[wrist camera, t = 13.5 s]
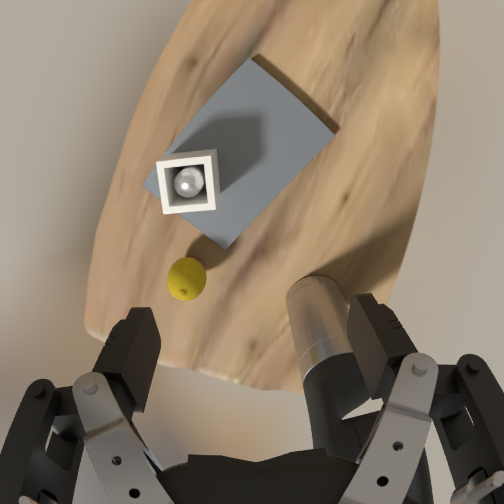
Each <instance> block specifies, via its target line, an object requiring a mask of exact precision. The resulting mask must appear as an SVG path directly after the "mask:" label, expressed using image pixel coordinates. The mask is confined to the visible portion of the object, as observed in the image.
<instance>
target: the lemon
mask: <svg viewBox="0 0 504 504" xmlns="http://www.w3.org/2000/svg"><path fill="white" fill-rule="evenodd" d="M167 284H168V288H169V291H170V292H171V294H172V295H173V296H174V297H175V298H177V299H179V300H183V301H189V300H193V299H195V298H196V297H198V296H199V295H200V294H201V292H202V291H203V289H204V287H205V284H206V271H205V269H204V267H203V265H202V264H201V263H200V262H199V261H198V260H196V259H194V258H189V257H185V258H181V259H179V260H177V261H176V262H175V263H174V264H173V265H172V266H171V268H170V270H169V272H168V277H167Z"/></svg>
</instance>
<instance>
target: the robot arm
mask: <svg viewBox="0 0 504 504" xmlns="http://www.w3.org/2000/svg"><path fill="white" fill-rule="evenodd" d="M286 305H287V310H288V315H289V320H290V325H291V330H292V334H293V339H294V344H295V349H296V354H297V359H298V364H299V369H300V374H301V379H302V384H303V389H304V393H305V398H306V402H307V406H308V412H309V418H310V424H311V431H312V438H313V448H314V449H311V450H304V451H295V452H290V453H288V454H284V455H281V456H278V457H274V458H271V459H268V460H264V461H260V462H251V461H246V460H240V459H235V458H230V457H225V456H220V455H219V456H218V455H190V454H189V455H188V462H186V463H182V464H178V465H175V466H172V467H170V468H168V469H166V470H163V468H162V467H161V465H160V464H159V463H158V461H157V460H156V459H155V457H154V456H153V454H152V453H151V451H150V449H149V448H148V446H147V444H146V443H145V441H144V439H143V438H142V436H141V434H140V433H139V431H138V429H137V427H136V426H135V424H134V422H133V420H132V416H133V412H141V413H144V409H145V405H146V401H147V397H148V393H149V389H150V386H151V381H152V378H153V374H154V371H155V367H156V364H157V360H158V357H159V353H160V349H161V338H160V334H159V331H158V328H157V325H156V322H155V319H154V315H153V312H152V310H151V308H150V307H133V308H131V309H130V311H129V313H128V316H127V318H126V320H120V321H119V322H118V323H117V324H116V325H115V326H114V327H113V328H112V330H111V332H110V334H109V336H108V337H109V338H107V340H106V342H105V346H104V347H103V349H102V351H101V353H100V355H99V357H98V359H97V361H96V364H95V366H94V368H93V370H92V372H89V373H85V374H83V375H81V376H80V377H79V378H78V379H77V380H76V381H75V383H74V385H73V386H68V387H61V388H56V387H55V386H54V385H53V383H52V382H51V381H50V380H47V379H39V380H36V381H34V382H33V383H32V384H31V385H30V386H29V387H28V388H27V390H26V392H25V395H24V397H23V399H22V401H21V403H20V406H19V408H18V410H17V412H16V415H15V417H14V420H13V422H12V425H11V427H10V429H9V432H8V435H7V437H6V440H5V443H4V445H3V448H2V451H1V454H0V504H72V501H73V495H74V490H75V485H76V480H77V475H78V470H79V466H80V462H81V457H82V452H83V449H84V445H85V447H86V450H87V452H88V455H89V458H90V460H91V462H92V464H93V467H94V469H95V472H96V473H97V476H98V478H99V480H100V482H101V485H102V487H103V489H104V491H105V493H106V495H107V496H108V498H109V500H110V502H111V504H434V502H433V494H432V486H431V479H430V473H429V466H428V461H427V456H426V451H425V447H424V445H425V442H426V439H427V435H428V432H429V429H430V425H431V419H432V420H433V422H434V425H435V428H436V431H437V433H438V436H439V439H440V441H441V444H442V447H443V450H444V453H445V456H446V459H447V462H448V465H449V468H450V472H451V475H452V478H453V481H454V485H455V488H456V489H455V491H454V492H453V494H452V496H451V499H450V504H504V393H503V391H502V389H501V387H500V386H499V384H498V382H497V380H496V379H495V377H494V375H493V374H492V372H491V370H490V369H489V367H488V365H487V364H486V362H485V361H484V360H483V359H482V358H480V357H479V356H477V355H474V354H466V355H463V356H462V357H460V359H459V360H458V362H457V364H456V365H438V364H437V363H436V362H435V360H434V359H433V358H432V357H430V356H428V355H426V354H424V353H419V352H418V351H417V349H416V347H415V346H414V344H413V343H412V341H411V339H410V337H409V336H408V334H407V333H406V331H405V330H404V328H402V325H401V323H400V321H398V318H397V317H396V315H395V314H394V312H393V311H392V310H391V309H389V308H388V307H387V306H386V305H384V304H378V303H377V301H376V300H375V298H374V296H373V295H372V294H371V293H365V294H357V295H353V296H352V298H351V302H350V309H349V308H348V306H347V304H346V302H345V300H344V298H343V296H342V294H341V292H340V290H339V288H338V286H337V284H336V283H335V282H334V281H333V280H332V279H330V278H328V277H325V276H320V275H315V276H309V277H306V278H303V279H301V280H299V281H298V282H297V283H295V284H294V285H293V286H292V288H291V289H290V290H289V292H288V294H287V298H286ZM370 397H371V399H372V400H374V399H379V398H382V400H383V402H384V404H383V406H382V408H381V410H379V411H376V412H372V413H368V414H364V415H360V416H356V417H353V418H348V419H344V420H342V418H343V417H344V416H345V415H347V414H348V413H350V412H351V411H352V410H354V409H356V408H357V407H359V406H360V405H362V404H363V403H365V402H366V401H367V400H368V399H369V398H370ZM466 408H467V410H468V412H469V414H470V416H471V418H472V421H473V423H472V421H471V419H470V417H469V415H468V412H467V410H466ZM473 424H474V426H473ZM51 429H52V430H53V432H52V435H51V439H50V442H49V445H48V448H47V451H45V445H46V442H47V438H48V436H49V433H50V430H51Z"/></svg>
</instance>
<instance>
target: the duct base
mask: <svg viewBox="0 0 504 504" xmlns="http://www.w3.org/2000/svg"><path fill="white" fill-rule="evenodd" d="M334 136H335V135H334V134H333V133H332V132H331V131H330V130H329V129H328V128H327V127H326V126H325V125H324V124H323V123H322V122H321V121H320V120H319V119H318V118H317V117H316V116H315V115H314V114H313V113H312V112H311V111H310V110H309V109H308V108H307V107H306V106H305V105H304V104H303V103H302V102H301V101H299V100H298V99H297V98H296V97H295V96H294V95H293V94H292V93H291V92H290V91H288V90H287V89H286V88H285V87H284V86H283V85H282V84H280V83H279V82H278V81H277V80H276V79H275V78H273V77H272V76H271V75H270V74H269V73H267V72H266V71H265V70H264V69H263V68H261V67H260V66H259V65H258V64H256V63H255V62H254V61H253V60H251V59H250V58H249V59H248V60H247V61H246V62H245V63H243V64H242V65H241V66H240V67H239V69H238V70H237V71H236V72H235V73H234V74H233V75H232V76H231V77H230V78H229V79H228V80H227V81H226V82H225V83H224V84H223V85H222V86H221V87H220V88H219V89H218V91H217V92H216V93H215V94H214V95H213V96H212V97H211V98H210V99H209V100H208V102H207V103H206V104H205V105H204V106H203V107H202V108H201V110H200V111H199V112H198V113H197V114H196V115H195V117H194V118H193V119H192V120H191V121H190V122H189V124H188V125H187V126H186V127H185V129H184V130H183V131H182V132H181V133H180V135H179V136H178V137H177V138H176V140H175V141H174V142H173V144H172V145H171V146H170V147H169V149H168V150H167V151H166V153H165V154H164V155H163V157H162V158H164V157H166V156H168V155H170V154H173V153H181V152H190V151H199V150H209V149H217V159H218V170H219V182H220V193H221V194H220V197H219V201H218V204H217V208H216V210H207V211H194V212H183V213H178V214H179V215H180V216H181V217H183V218H184V219H185V220H187V221H188V222H189V223H191V224H192V225H193V226H194V227H196V228H197V229H198V230H200V231H201V232H202V233H203V234H205V235H206V236H207V237H209V238H210V239H211V240H213V241H214V242H215V243H216V244H218V245H219V246H220V247H222V248H223V249H224V250H226V249H227V248H228V247H229V246H230V245H231V244H232V243H233V242H234V240H235V239H236V238H237V237H238V236H239V235H240V234H241V233H242V232H243V231H244V230H245V229H246V228H247V227H248V226H249V225H250V223H251V222H252V221H253V220H254V219H255V218H256V217H257V216H258V215H259V214H260V213H261V212H262V211H263V210H264V209H265V208H266V207H267V206H268V204H269V203H270V202H271V201H272V200H273V199H274V198H275V197H276V196H277V195H278V194H279V193H280V192H281V191H282V190H283V189H284V188H285V187H286V186H287V185H288V184H289V183H290V181H291V180H292V179H293V178H294V177H295V176H296V175H297V174H298V173H299V172H300V171H301V170H302V169H303V168H304V167H305V166H306V165H307V164H308V163H309V162H310V161H311V160H312V159H313V158H314V157H315V156H316V155H317V154H318V153H319V152H320V151H321V150H322V149H323V148H324V147H325V145H326V144H327V143H328V142H329V141H330V140H331V139H332V138H333V137H334ZM162 158H161V159H162ZM161 159H160V160H161ZM185 167H186V166H179V172H181V171H182V170H183V169H184V168H185ZM142 186H143V187H144V188H146V189H147V190H148V191H149V192H151V193H152V194H153V195H155V196H156V197H157V198H158V199H160V200H161V195H160V188H159V181H158V174H157V166H155V167H154V169H153V170H152V171H151V173H150V174H149V176H148V177H147V178H146V180H145V181H144V183H143V184H142ZM202 189H206V181H205V183H204V185H203V187H202Z"/></svg>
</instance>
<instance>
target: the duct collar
mask: <svg viewBox="0 0 504 504" xmlns="http://www.w3.org/2000/svg"><path fill="white" fill-rule="evenodd" d="M197 164H204V169H205V180H206V189H201V190H200V192H199V193H198V194H197V195H196V196H194V197H190V198H187V197H183V196H181V195H179V194H178V193H177V191H176V190H175V187H174V180H175V177H176V176H177V174H178V173H179V166H187V165H197ZM156 166H157V174H158V181H159V188H160V195H161V201H162V208H163V214H172V213H183V212H194V211H207V210H216V208H217V204H218V201H219V197H220V194H221V193H220V182H219V170H218V159H217V149H209V150H199V151H190V152H181V153H173V154H170V155H168V156H166V157H164V158H162V159H161V160H159V161H157V162H156Z"/></svg>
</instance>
